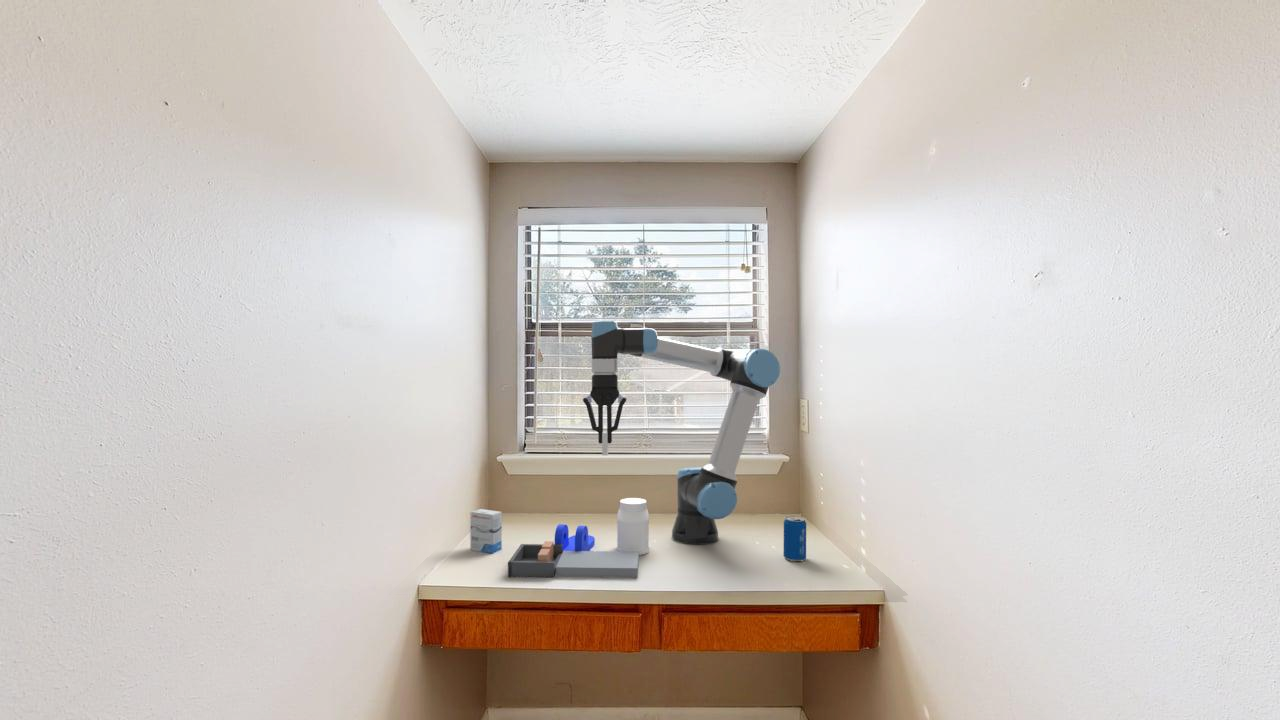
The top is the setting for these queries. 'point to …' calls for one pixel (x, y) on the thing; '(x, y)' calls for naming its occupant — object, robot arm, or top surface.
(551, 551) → the tile
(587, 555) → the board
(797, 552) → the beverage can
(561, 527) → the bracket
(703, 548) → the top surface
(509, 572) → the box
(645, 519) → the jar
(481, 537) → the ink box
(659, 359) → the robot arm
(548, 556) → the tile
